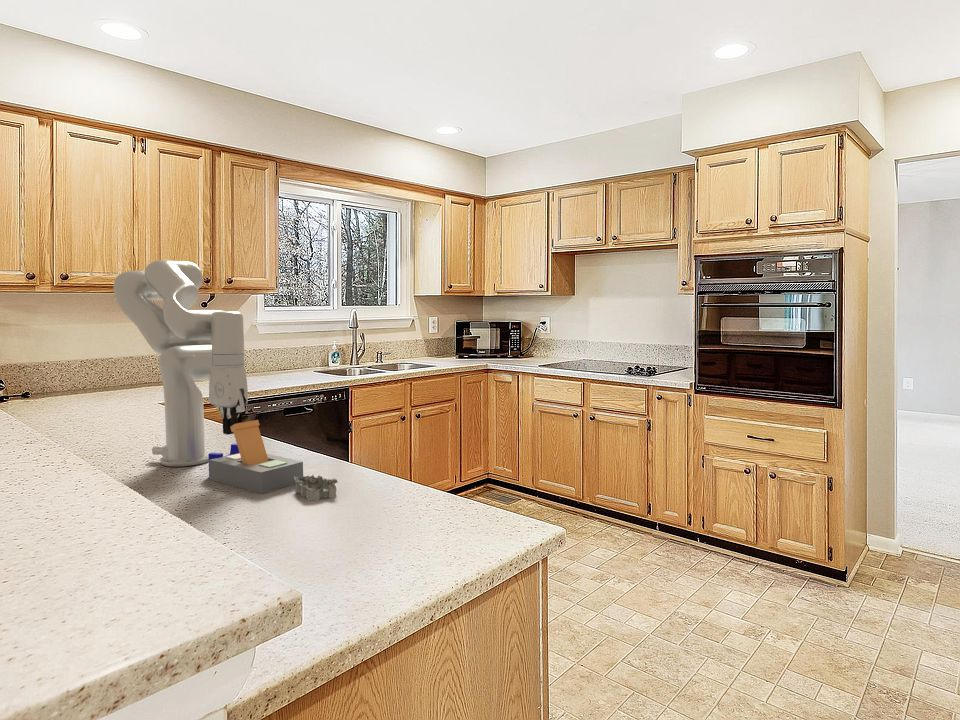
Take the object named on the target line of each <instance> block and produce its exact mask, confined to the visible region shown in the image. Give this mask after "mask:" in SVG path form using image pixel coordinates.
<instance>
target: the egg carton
mask: <svg viewBox="0 0 960 720" xmlns="http://www.w3.org/2000/svg"><path fill="white" fill-rule="evenodd" d="M294 479H295V482H296V484H295V493H299V494H300V496H301V497H306V500H307V501H320V500H321V499H322V498H329V499H332V498H334V497H335V496H336V495H337V486H336V484H338V479H337V478H332V479H331V478H325V477H324V478H323V476H322V475H318V476H316V477H315V476H314V474H312V475H306V476H304V475H303V476H302V477H296V476H294ZM334 495H335V496H334ZM331 497H332V498H331Z"/></svg>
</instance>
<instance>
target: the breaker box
mask: <svg viewBox="0 0 960 720" xmlns="http://www.w3.org/2000/svg"><path fill="white" fill-rule="evenodd" d="M266 454H267V457H268V460H269V461H268V462H264V463H260V464H255V465H248V464H244V463H242V459H241V456H240V453H238V454H233V455H229V456H226V455H223V457H219V458H215V459H210V460H209V461H208V465H209V464H210V477H209V480H210V481H213V482H218V483H221V484H224V485H227V486H231V487H235V488H239V489H243V490H246V491H250V492H253V493H256V494H260V495H263V494H265V493H266V494H267V493H270V492H272V491H276V490H280V489H283V488H287V487H291V486H293V485H296V482H295V479H294V476H296V477H302V476H304V461H302V460H297V459H292V458H287V457H284V456H278V455H273V454H269V453H266Z"/></svg>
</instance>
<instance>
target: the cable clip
mask: <svg viewBox="0 0 960 720" xmlns="http://www.w3.org/2000/svg"><path fill="white" fill-rule="evenodd" d="M238 453H240V452H239V449H238V446H237V443H232V444H231V443H230V452H229V453H228V454H226V455H225V456H229V455H233V454H238ZM208 456H209V460H210V459H215V458H219V457H224V453H223V452H210V453H209V454H208ZM208 477H209V478H210V464H209V463H208Z"/></svg>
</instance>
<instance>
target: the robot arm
mask: <svg viewBox="0 0 960 720" xmlns="http://www.w3.org/2000/svg"><path fill="white" fill-rule="evenodd" d="M203 277H204V275H203V272H202V270H201V268H200V267H199V266H198V265H197V264H196V263H194V262H191V261H186V260H173V259H172V260H170V259H159V260H154V261H151V262H150V263H148V265H147V266H145V270H141V269H139V270H137V269H136V270H127V271H124V272H121V273H119V274H118V275H117V276H116V277H115V279H114V282H113V292H114V298H115V299H116V302H117V305H118V307H119V308H120V311H122V313H123V314H124V315H125V317H127V318H128V319H129V320H130V321H131V322H132V323H133V324H134V325H135V326H136V328H137V329H138V330H139V332H140V333H141V335H142V336H143V338H144V340H145V341H146V342H147V344H148V345H149V346H150V348H151V349H152V350H153V351H154V352H155V353H156V354H158V355H159V358H158V368H159V372H160V376H161V381H162V387H163V397H164V398H163V400H164V402H163V403H164V421H165V427H164V428H165V445H164V446H153V447H152V448H151V452H152V455H156V456H158V455H161V456H162V457H161V458H160V460H159V461H160V462H159V463H160V465H162V466H165V467H176V468H177V467H193V466H196V465H197V466H198V465H202V464H205V463H209V456H208V454H210V453H208V452H206V446H205V445H206V444H205V415H204V397H203V392H202V391H201V390H200V388H199V387H198V386H197V385H196V383H195V381H199V380H208V379H209V381H208V382H209V385H208V389H209V390H208V398H209V399H208V400H209V404H210V405H212V406H214V407H215V409H217V410H219V411H220V417H221V418H222V433H223V434H224V435H234V432H232V431H231V428H230V427H231V426H232V425H234V424H237V423H239V421H238V420H239V419H238V418H239V417H240V413H242V412H245V411H246V408H245V406H246V405H247V404H248V401H249V400H248V399H249V391H248V390H249V387H248V379H247V373H246V366H245V338H244V337H245V336H244V316H243V314H242V313H241V312H240V311H232V310H231V311H230V310H229V311H228V310H226V311H225V310H222V309H191V308H192V307H193V306H195V304H196V303H197V301H198V299H199V296H200V293H199V289H200V288H201V287H202V285H203V281H204V280H203ZM153 301H163V305H162V307H161V306H159V305H158V304H156V303H155V302H153ZM189 309H190V310H189Z"/></svg>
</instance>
